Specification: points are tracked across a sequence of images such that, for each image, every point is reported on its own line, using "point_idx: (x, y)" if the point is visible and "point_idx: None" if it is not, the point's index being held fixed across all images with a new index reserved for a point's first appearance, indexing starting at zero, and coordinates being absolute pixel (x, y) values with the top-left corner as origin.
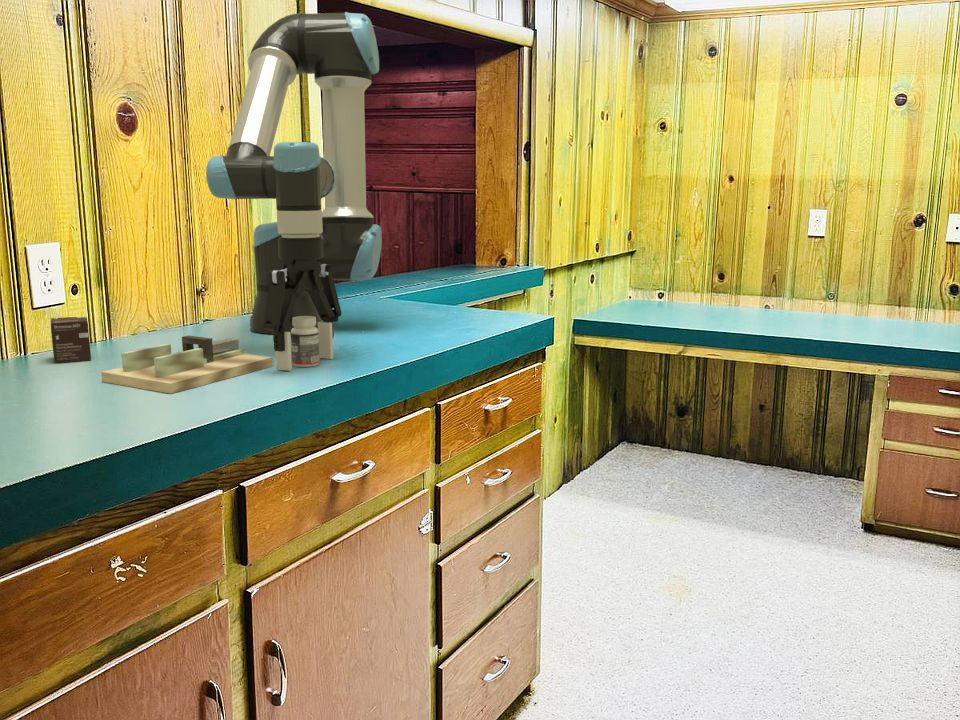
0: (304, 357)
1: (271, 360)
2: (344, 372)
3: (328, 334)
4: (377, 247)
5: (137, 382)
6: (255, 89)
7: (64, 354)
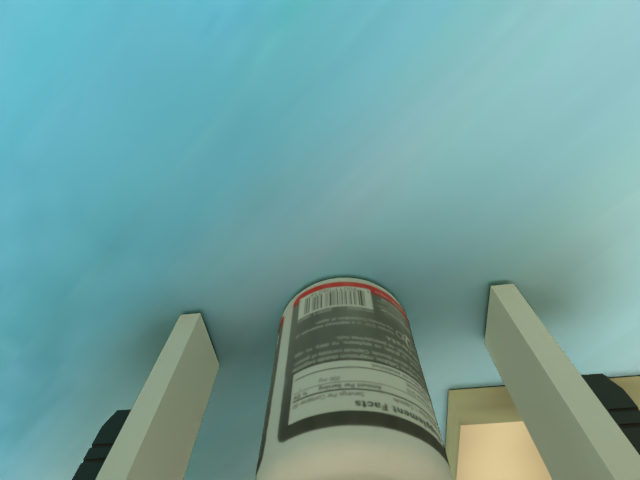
0: (400, 324)
1: (463, 412)
2: (366, 21)
3: (154, 431)
4: None
5: None
6: None
7: None
